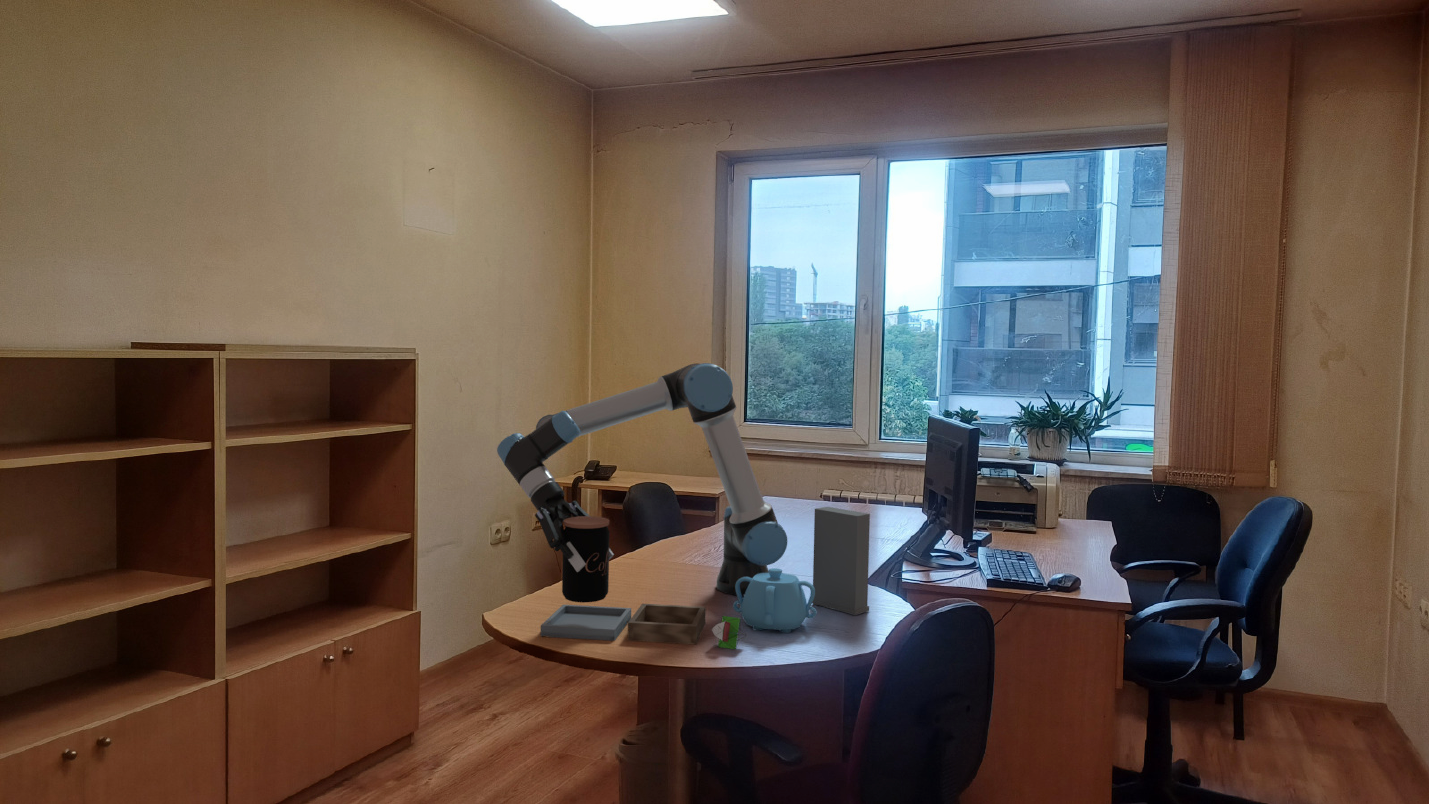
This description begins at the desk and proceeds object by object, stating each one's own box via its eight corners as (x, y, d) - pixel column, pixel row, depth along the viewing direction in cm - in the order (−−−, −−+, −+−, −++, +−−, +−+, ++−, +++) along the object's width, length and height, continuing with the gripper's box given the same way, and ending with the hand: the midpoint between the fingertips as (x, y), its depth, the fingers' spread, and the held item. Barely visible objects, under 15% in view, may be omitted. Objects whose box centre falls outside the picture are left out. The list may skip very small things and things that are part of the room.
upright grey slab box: (869, 611, 218) (872, 513, 217) (855, 616, 214) (857, 516, 213) (826, 600, 228) (828, 506, 227) (811, 604, 224) (813, 508, 223)
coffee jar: (587, 606, 194) (589, 526, 193) (552, 598, 199) (553, 520, 198) (617, 595, 203) (619, 519, 202) (582, 588, 208) (583, 514, 207)
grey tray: (631, 618, 209) (631, 608, 209) (614, 640, 192) (614, 629, 192) (563, 614, 211) (563, 604, 211) (540, 636, 194) (540, 625, 194)
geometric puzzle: (723, 628, 195) (715, 605, 191) (752, 632, 193) (744, 609, 188) (713, 655, 190) (705, 632, 186) (742, 659, 188) (735, 636, 183)
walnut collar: (705, 623, 206) (705, 606, 206) (696, 644, 190) (696, 626, 190) (641, 620, 208) (642, 603, 207) (627, 640, 192) (627, 622, 192)
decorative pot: (787, 613, 216) (788, 559, 215) (821, 631, 201) (822, 573, 201) (728, 620, 209) (729, 564, 208) (759, 640, 194) (760, 580, 194)
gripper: (563, 494, 217) (614, 563, 211) (501, 506, 197) (555, 584, 190) (580, 474, 214) (632, 544, 208) (520, 485, 194) (575, 563, 188)
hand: (596, 563), depth 199 cm, fingers closed on coffee jar, 11 cm apart
